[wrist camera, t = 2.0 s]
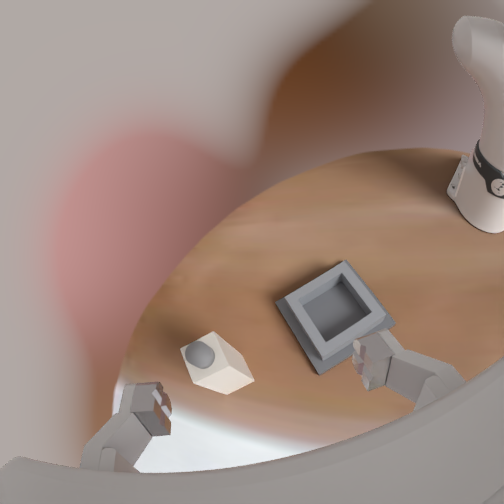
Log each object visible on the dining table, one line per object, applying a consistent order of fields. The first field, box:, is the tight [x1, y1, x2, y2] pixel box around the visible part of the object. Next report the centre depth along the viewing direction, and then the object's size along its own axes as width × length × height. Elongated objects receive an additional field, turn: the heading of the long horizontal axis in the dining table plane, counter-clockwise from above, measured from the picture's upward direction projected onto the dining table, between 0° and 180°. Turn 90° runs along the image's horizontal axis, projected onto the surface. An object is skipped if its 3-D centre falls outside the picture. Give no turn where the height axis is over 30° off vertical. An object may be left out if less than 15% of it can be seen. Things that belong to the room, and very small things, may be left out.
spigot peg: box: [180, 331, 255, 395], centre depth 37 cm, size 5×5×14 cm
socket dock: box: [275, 260, 396, 376], centre depth 43 cm, size 14×14×4 cm
